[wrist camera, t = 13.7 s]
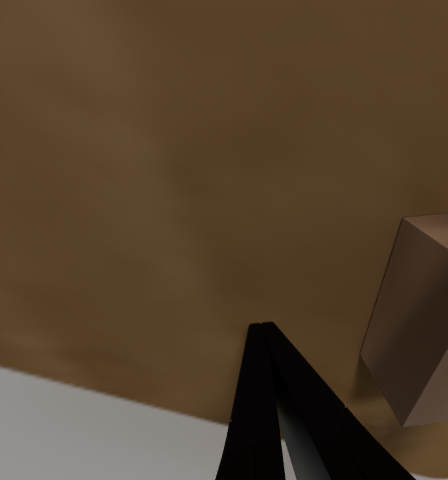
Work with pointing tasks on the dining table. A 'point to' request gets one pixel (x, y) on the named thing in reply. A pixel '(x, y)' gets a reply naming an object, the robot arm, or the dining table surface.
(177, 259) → the dining table surface
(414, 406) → the walnut block
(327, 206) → the dining table surface
